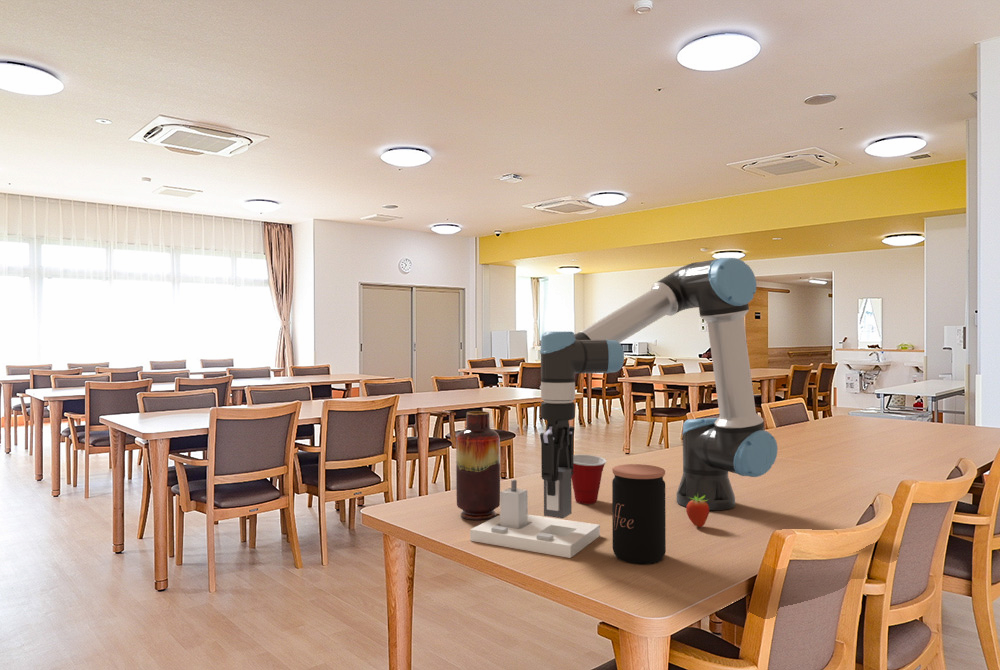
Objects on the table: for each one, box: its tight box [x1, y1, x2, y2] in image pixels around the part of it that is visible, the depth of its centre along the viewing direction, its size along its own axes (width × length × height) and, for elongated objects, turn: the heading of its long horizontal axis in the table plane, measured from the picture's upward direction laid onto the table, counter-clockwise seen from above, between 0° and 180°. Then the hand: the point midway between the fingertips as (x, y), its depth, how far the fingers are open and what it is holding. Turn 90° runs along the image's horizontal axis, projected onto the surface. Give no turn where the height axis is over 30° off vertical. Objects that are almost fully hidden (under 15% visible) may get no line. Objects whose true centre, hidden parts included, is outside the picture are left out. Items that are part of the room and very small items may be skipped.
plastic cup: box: [571, 453, 607, 505], centre depth 181 cm, size 11×11×12 cm
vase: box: [455, 410, 501, 521], centre depth 167 cm, size 11×11×26 cm
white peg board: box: [469, 479, 601, 559], centre depth 148 cm, size 24×17×12 cm
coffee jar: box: [611, 463, 667, 565], centre depth 136 cm, size 11×11×18 cm
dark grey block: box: [543, 467, 573, 519], centre depth 146 cm, size 5×5×10 cm
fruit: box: [685, 494, 710, 528], centre depth 156 cm, size 5×5×8 cm
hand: (558, 506), depth 146 cm, fingers closed on dark grey block, 5 cm apart
